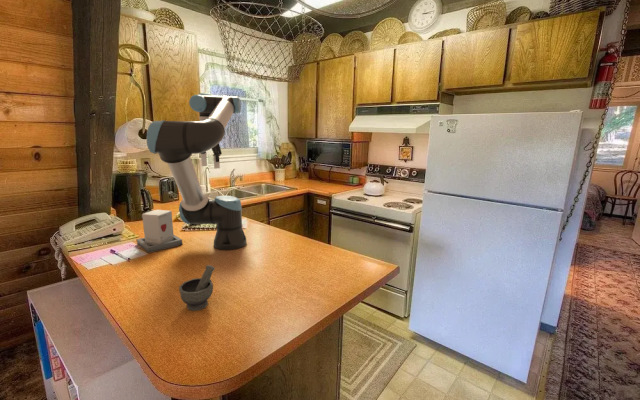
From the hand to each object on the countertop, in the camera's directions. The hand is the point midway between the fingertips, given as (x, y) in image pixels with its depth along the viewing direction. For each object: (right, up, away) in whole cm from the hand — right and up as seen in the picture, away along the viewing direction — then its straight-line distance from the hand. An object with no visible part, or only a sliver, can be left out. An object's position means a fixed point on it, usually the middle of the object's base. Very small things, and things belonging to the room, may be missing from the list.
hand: (210, 167), depth 157 cm
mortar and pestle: (+19, -51, -62) cm, 83 cm away
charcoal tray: (-19, -38, -14) cm, 45 cm away
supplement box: (-19, -38, -14) cm, 45 cm away
